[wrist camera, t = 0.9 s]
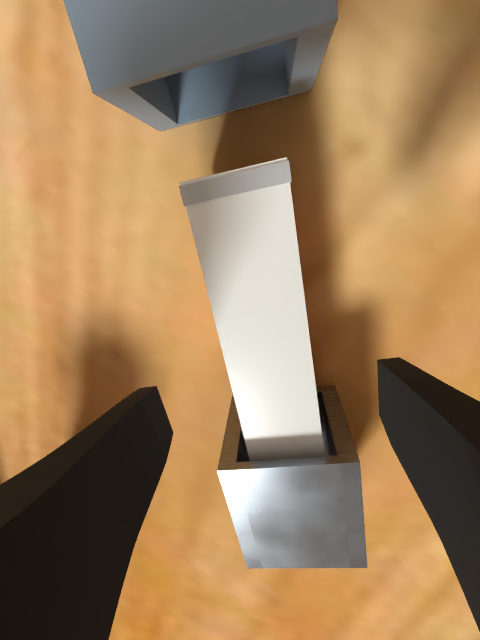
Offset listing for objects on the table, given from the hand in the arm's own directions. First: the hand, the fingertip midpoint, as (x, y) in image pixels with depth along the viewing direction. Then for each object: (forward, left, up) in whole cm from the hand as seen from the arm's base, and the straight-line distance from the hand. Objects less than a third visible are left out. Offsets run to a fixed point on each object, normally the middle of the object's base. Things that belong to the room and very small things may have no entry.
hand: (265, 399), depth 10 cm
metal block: (0, +8, -7) cm, 10 cm away
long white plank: (0, +3, -7) cm, 7 cm away
